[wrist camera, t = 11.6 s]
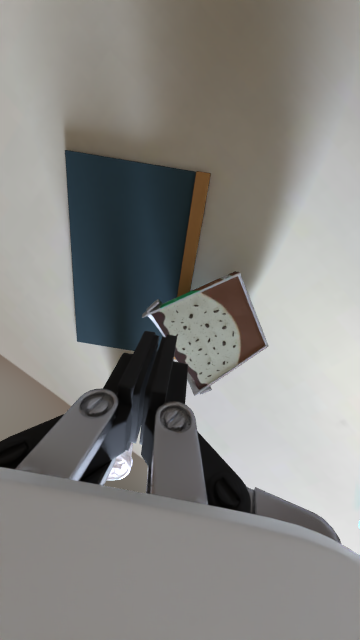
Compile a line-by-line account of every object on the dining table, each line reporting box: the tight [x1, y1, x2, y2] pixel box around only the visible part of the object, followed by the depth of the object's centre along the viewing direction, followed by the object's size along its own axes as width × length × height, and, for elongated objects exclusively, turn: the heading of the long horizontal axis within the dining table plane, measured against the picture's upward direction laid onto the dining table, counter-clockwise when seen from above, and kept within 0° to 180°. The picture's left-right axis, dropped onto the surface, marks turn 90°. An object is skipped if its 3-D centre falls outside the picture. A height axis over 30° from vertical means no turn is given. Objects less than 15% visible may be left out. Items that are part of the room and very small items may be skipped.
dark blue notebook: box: [65, 150, 211, 359], centre depth 26 cm, size 22×14×1 cm, turn 171°
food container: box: [142, 272, 268, 396], centre depth 25 cm, size 12×6×10 cm
